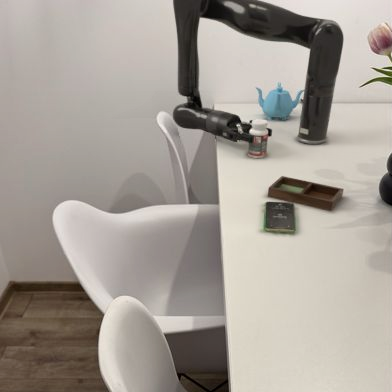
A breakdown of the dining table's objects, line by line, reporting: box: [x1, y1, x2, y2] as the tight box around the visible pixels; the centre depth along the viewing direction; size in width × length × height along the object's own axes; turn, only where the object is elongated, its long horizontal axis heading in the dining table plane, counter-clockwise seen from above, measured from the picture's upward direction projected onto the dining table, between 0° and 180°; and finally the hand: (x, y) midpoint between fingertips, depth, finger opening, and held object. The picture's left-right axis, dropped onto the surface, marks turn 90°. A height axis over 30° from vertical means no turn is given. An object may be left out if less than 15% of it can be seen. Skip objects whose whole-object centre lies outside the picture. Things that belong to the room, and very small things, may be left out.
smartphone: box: [263, 201, 297, 234], centre depth 118 cm, size 8×1×15 cm
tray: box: [267, 175, 345, 212], centre depth 127 cm, size 9×17×2 cm, turn 60°
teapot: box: [254, 81, 304, 121], centre depth 178 cm, size 13×13×10 cm
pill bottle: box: [247, 118, 269, 159], centre depth 148 cm, size 6×6×10 cm
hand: (262, 136), depth 147 cm, fingers open, 8 cm apart
